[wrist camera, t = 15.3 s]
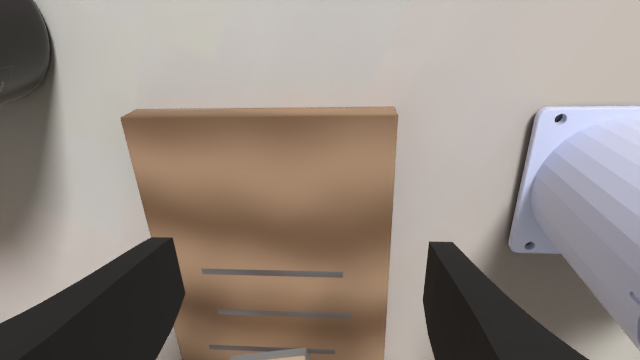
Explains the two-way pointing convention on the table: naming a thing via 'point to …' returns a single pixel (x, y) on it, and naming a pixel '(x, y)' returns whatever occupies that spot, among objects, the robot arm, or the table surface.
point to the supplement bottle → (21, 49)
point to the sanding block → (275, 355)
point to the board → (272, 224)
